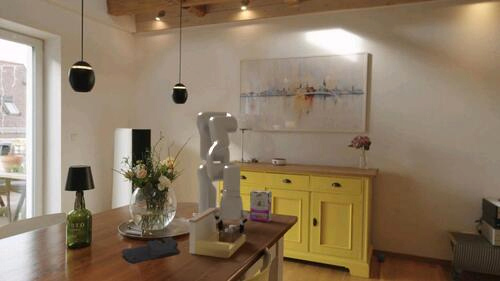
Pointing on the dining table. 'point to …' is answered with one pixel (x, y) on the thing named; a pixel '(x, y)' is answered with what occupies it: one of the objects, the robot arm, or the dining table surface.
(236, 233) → the caddy
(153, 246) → the dark slate chunk
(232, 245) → the counter shelf
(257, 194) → the candy bar box
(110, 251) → the dining table surface
